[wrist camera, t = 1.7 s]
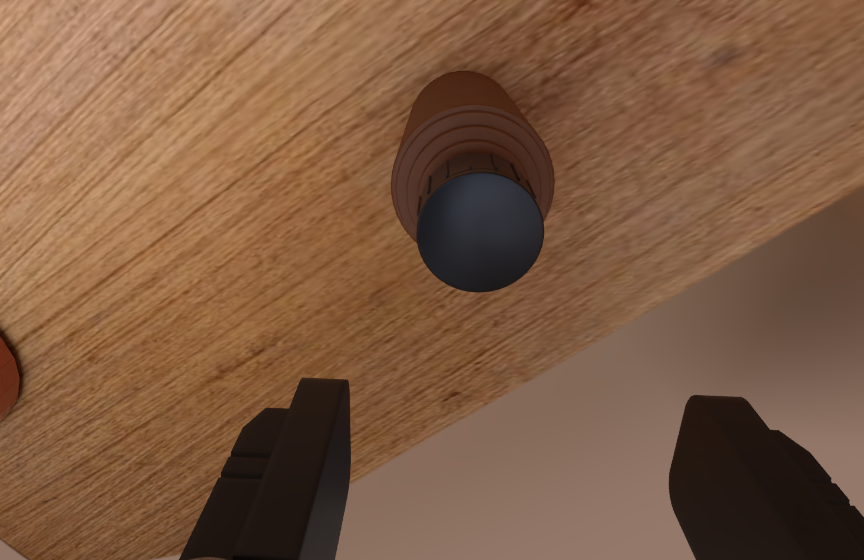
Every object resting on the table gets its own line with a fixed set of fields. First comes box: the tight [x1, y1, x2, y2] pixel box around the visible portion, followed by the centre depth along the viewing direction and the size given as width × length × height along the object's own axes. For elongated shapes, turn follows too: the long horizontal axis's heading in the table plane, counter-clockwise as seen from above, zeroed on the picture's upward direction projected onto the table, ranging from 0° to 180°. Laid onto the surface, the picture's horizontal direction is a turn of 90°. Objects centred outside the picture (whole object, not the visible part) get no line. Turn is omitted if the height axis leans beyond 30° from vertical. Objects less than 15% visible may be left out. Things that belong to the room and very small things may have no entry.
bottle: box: [391, 71, 555, 243], centre depth 28 cm, size 6×6×19 cm
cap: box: [416, 152, 544, 292], centre depth 20 cm, size 4×4×3 cm
